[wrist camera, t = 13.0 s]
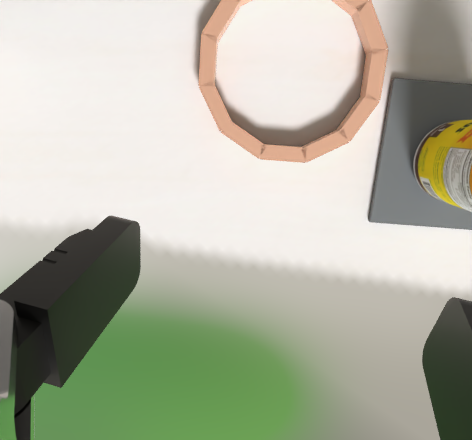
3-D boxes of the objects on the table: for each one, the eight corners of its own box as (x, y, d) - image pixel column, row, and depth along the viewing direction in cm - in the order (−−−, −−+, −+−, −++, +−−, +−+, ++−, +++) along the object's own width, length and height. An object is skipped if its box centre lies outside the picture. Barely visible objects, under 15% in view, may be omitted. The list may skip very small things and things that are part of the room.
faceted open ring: (206, -38, 24) (205, -46, 23) (392, -21, 24) (400, -29, 23) (196, 152, 27) (195, 154, 26) (363, 166, 27) (369, 167, 26)
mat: (391, 78, 26) (394, 78, 25) (536, 90, 26) (540, 90, 26) (368, 220, 28) (370, 222, 28) (500, 230, 28) (504, 232, 28)
